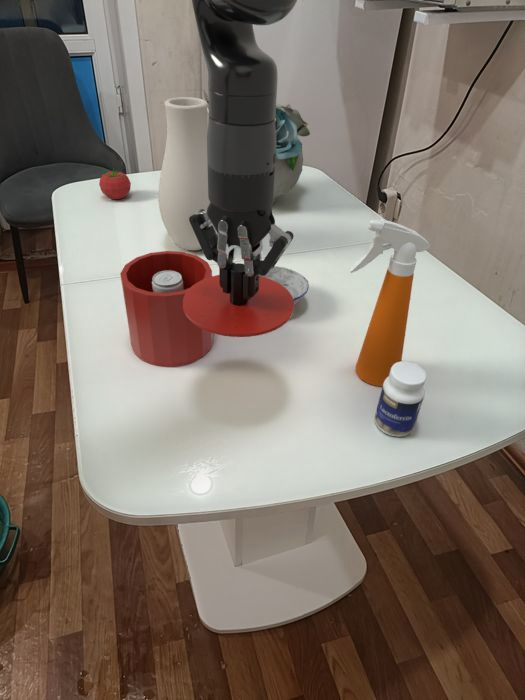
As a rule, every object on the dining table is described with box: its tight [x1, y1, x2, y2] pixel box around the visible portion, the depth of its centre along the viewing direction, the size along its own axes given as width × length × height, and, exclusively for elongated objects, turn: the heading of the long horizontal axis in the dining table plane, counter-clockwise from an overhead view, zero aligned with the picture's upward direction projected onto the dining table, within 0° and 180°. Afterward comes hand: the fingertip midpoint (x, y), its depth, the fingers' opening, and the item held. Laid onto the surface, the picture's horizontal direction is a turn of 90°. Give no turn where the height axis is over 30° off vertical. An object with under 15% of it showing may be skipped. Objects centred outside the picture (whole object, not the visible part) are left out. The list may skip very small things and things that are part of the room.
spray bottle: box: [349, 218, 432, 387], centre depth 75 cm, size 7×11×26 cm, turn 94°
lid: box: [183, 262, 295, 338], centre depth 67 cm, size 15×15×6 cm
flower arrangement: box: [273, 103, 311, 203], centre depth 131 cm, size 25×25×24 cm
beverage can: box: [152, 271, 184, 293], centre depth 84 cm, size 5×5×12 cm
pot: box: [120, 250, 215, 368], centre depth 83 cm, size 14×14×14 cm
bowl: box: [260, 265, 310, 307], centre depth 96 cm, size 13×13×5 cm
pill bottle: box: [374, 360, 427, 437], centre depth 71 cm, size 6×6×10 cm
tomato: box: [98, 168, 132, 200], centre depth 133 cm, size 8×8×8 cm
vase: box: [157, 96, 218, 251], centre depth 106 cm, size 14×14×30 cm
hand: (239, 293), depth 67 cm, fingers closed on lid, 2 cm apart
